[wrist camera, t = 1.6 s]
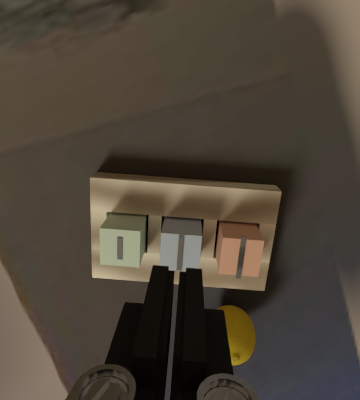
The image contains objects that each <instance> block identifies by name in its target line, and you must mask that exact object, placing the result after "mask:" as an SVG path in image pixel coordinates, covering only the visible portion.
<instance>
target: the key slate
mask: <svg viewBox="0 0 360 400" xmlns="http://www.w3.org/2000/svg"><path fill="white" fill-rule="evenodd" d="M201 243H202V225H201V219H191V218H178V217H165V218H164V222H163V226H162V231H161V243H160V262H159V266H169V270H176V271H186V268H197V269H199V264H200V254H201Z"/></svg>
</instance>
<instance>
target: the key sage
mask: <svg viewBox="0 0 360 400" xmlns="http://www.w3.org/2000/svg"><path fill="white" fill-rule="evenodd" d="M146 222H147V215H139V214H126V213H112V212H111V213H110V214H109V215H108V217H107V218H106V220H105V221H104V223H103V224H102V225H101V227H100V265H112V266H125V267H138V268H139V267H140V264H141V261H142V258H143V254H144V251H145V248H146Z"/></svg>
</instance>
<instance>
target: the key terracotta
mask: <svg viewBox="0 0 360 400" xmlns="http://www.w3.org/2000/svg"><path fill="white" fill-rule="evenodd" d="M263 246H264V239H263V237H262V235H261V233H260V231H259V229H258V227H257V225H256V223H244V222H231V221H219V227H218V236H217V245H216V260H217V267H218V274H227V275H236V278H237V279H241V276H252V277H258V276H259V270H260V264H261V258H262V252H263Z"/></svg>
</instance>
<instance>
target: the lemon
mask: <svg viewBox="0 0 360 400" xmlns="http://www.w3.org/2000/svg"><path fill="white" fill-rule="evenodd" d="M216 310H223V311H224V314H225V320H226V327H227V334H228V341H229V348H230V355H231V362H232V365H239V364H242V363H244V362H245V361H247V360H248V359H249V358H250V356H251V355H252V353H253V351H254V346H255V330H254V326H253V323H252V321H251V319H250V317H249V316H248V315H247V314H246V312H245V311H244V310H242V309H240V308H239V307H236V306H233V305H225V306H221V307H219V308H217V309H216Z"/></svg>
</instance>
